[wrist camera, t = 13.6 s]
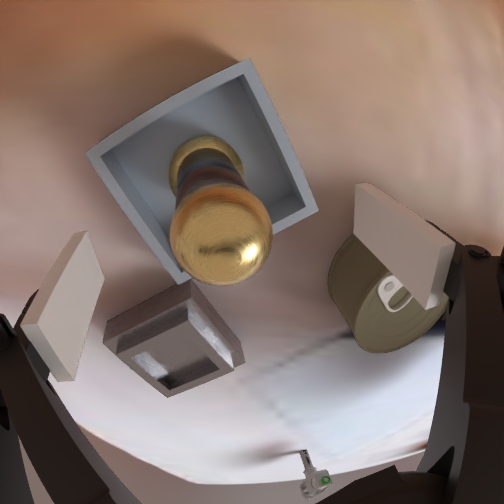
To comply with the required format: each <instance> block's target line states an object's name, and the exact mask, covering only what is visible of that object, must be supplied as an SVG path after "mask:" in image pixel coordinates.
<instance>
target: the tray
mask: <svg viewBox="0 0 504 504" xmlns="http://www.w3.org/2000/svg"><path fill="white" fill-rule="evenodd" d="M198 135H213V136H216V137H219V138H221V139H223V140H225V141H226V142H227V143H229V144H230V145H231V146H232V148H233V149H234V150H235V151H236V153H237V154H238V156H239V157H240V159H241V162H242V165H243V169H244V178H243V181H244V182H245V184H246V185H247V187H248V189H249V190H250V192H252V193H253V194H254V195H255V196H256V197H257V198H258V199H259V200H260V201H261V202H262V203H263V205H264V206H265V208H266V210H267V212H268V214H269V216H270V219H271V223H272V230H273V235H274V234H276V233H278V232H280V231H281V230H283V229H285V228H287V227H289V226H291V225H293V224H295V223H297V222H299V221H300V220H302V219H304V218H306V217H308V216H310V215H312V214H314V213H316V212H318V211H319V209H318V206H317V204H316V201H315V199H314V197H313V194H312V192H311V189H310V187H309V184H308V182H307V180H306V177H305V175H304V173H303V170H302V168H301V166H300V163H299V161H298V159H297V156H296V154H295V152H294V149H293V147H292V145H291V143H290V140H289V138H288V136H287V134H286V132H285V129H284V127H283V125H282V123H281V121H280V119H279V116H278V114H277V112H276V110H275V108H274V106H273V104H272V102H271V100H270V98H269V96H268V93H267V91H266V89H265V87H264V85H263V83H262V81H261V79H260V77H259V75H258V73H257V71H256V69H255V67H254V65H253V63H252V62H251V60H250V58H248V59H246V60H244V61H241V62H239V63H237V64H235V65H232V66H230V67H228V68H226V69H224V70H222V71H220V72H218V73H215V74H213V75H211V76H209V77H207V78H205V79H203V80H201V81H199V82H198V83H196V84H194V85H192V86H190V87H188V88H186V89H184V90H183V91H181V92H179V93H177V94H175V95H173V96H172V97H170V98H168V99H166V100H165V101H163V102H161V103H160V104H158V105H156V106H154V107H153V108H151V109H149V110H148V111H146V112H145V113H143V114H141V115H140V116H138V117H137V118H135V119H133V120H132V121H130V122H129V123H127V124H126V125H124V126H123V127H121V128H120V129H118V130H117V131H115V132H114V133H112V134H111V135H109V136H108V137H106V138H105V139H103V140H102V141H101V142H99V143H98V144H96V145H95V146H94V147H92V148H91V149H90V150H88V151H87V152H86V153H84V154H85V155H86V157H87V158H88V160H89V161H90V163H91V165H92V166H93V168H94V169H95V171H96V172H97V174H98V175H99V177H100V178H101V180H102V181H103V183H104V184H105V186H106V187H107V189H108V190H109V191H110V193H111V194H112V196H113V197H114V199H115V200H116V202H117V203H118V205H119V206H120V207H121V209H122V210H123V212H124V213H125V215H126V216H127V217H128V219H129V220H130V222H131V223H132V224H133V226H134V227H135V228H136V230H137V231H138V233H139V234H140V235H141V237H142V238H143V239H144V241H145V242H146V244H147V245H148V246H149V248H150V249H151V250H152V252H153V253H154V254H155V256H156V257H157V258H158V260H159V261H160V262H161V264H162V265H163V266H164V267H165V269H166V270H167V271H168V273H169V274H170V275H171V277H172V278H173V279H174V280H175V282H176V283H177V284H178V285H179V284H181V283H183V282H185V281H187V280H189V279H191V278H193V277H191V276H190V275H189V274H188V273H186V272H185V271H184V270H183V269H182V267H181V266H180V265H179V263H178V262H177V260H176V258H175V256H174V254H173V251H172V248H171V244H170V225H171V221H172V217H173V215H174V213H175V204H176V197H175V196H174V194H173V193H172V190H171V188H170V185H169V179H168V176H169V167H170V162H171V158H172V156H173V154H174V152H175V151H176V149H177V148H178V147H179V146H180V145H181V144H182V143H183V142H185V141H186V140H188V139H190V138H192V137H194V136H198Z"/></svg>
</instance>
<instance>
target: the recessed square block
mask: <svg viewBox="0 0 504 504" xmlns="http://www.w3.org/2000/svg"><path fill="white" fill-rule="evenodd" d="M103 344H104V345H105V346H106V347H107V348H109V349H110V350H111V351H112V352H113V353H114V354H115V355H116V356H117V357H118V358H119V359H121V360H122V361H123V362H124V363H125V364H126V365H128V366H129V367H130V368H131V369H132V370H133V371H135V372H136V373H137V374H138V375H139V376H141V377H142V378H143V379H144V380H145V381H147V382H148V383H149V384H150V385H152V386H153V387H154V388H155V389H157V390H158V391H159V392H161V393H162V394H163V395H164V396H166V397H167V398H168V397H171V396H173V395H176V394H178V393H181V392H184V391H186V390H189V389H191V388H194V387H196V386H199V385H201V384H204V383H206V382H208V381H211V380H213V379H215V378H218V377H220V376H223V375H225V374H227V373H229V372H232V371H234V367H237V366H239V365H241V364H243V363H246V362H245V358H244V354H243V350H242V346H241V342H240V341H239V340H238V338H237V337H236V336H235V335H234V333H233V332H232V331H231V330H230V328H229V327H228V326H227V324H226V323H225V322H224V321H223V319H222V318H221V317H220V316H219V314H218V313H217V312H216V310H215V309H214V308H213V307H212V305H211V304H210V303H209V301H208V300H207V299H206V298H205V296H204V295H203V294H202V292H201V291H200V290H199V288H198V287H197V286H196V284H195V283H194V282H193V280H192V279H189V280H187V281H185V282H183V283H181V284H179V285H178V284H176V285H175V286H173V287H171V288H169V289H167V290H165V291H163V292H161V293H160V294H158V295H156V296H154V297H152V298H150V299H148V300H146V301H145V302H143V303H141V304H139V305H137V306H135V307H133V308H132V309H130V310H128V311H126V312H124V313H122V314H120V315H119V316H117V317H115V318H113V319H111V320H109V321H107V324H106V329H105V333H104V338H103Z"/></svg>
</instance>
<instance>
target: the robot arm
mask: <svg viewBox="0 0 504 504" xmlns="http://www.w3.org/2000/svg"><path fill="white" fill-rule="evenodd" d="M353 234H354V235H355V236H356V237H357V238H358V239H359V240H360V241H361V242H362V243H363V244H364V245H365V246H366V247H367V248H368V249H369V250H370V251H371V252H372V253H373V254H374V255H375V256H376V257H377V258H378V259H379V260H380V261H381V262H382V263H383V264H384V265H385V266H386V267H387V268H388V270H389V271H390V272H391V273H392V274H393V275H394V276H395V277H396V278H397V279H398V280H399V281H400V282H401V283H402V285H403V286H404V287H405V288H406V289H407V290H408V291H409V292H410V293H411V294H412V296H413V297H414V298H415V299H416V300H417V301H418V302H419V303H420V305H421V306H422V307H423V308H424V309H425V310H427V309H430V308H432V307H435V306H438V305H440V302H441V299H442V295H443V292H444V293H445V294H446V295H447V296H448V297H449V299H448V303H447V306H446V309H445V312H444V315H443V318H442V320H443V321H444V320H445V317H446V325H445V338H444V349H443V358H442V367H441V374H440V381H439V388H438V394H437V400H436V406H435V411H434V416H433V421H432V426H431V430H430V435H429V439H428V443H427V447H426V450H425V453H424V456H423V458H422V460H421V462H420V464H419V466H418V468H417V470H416V472H415V471H410V472H398V471H397V469H396V467H395V465H393V466H391V467H389V468H386V469H384V470H381V471H379V472H376V473H374V474H371V475H369V476H366V477H364V478H361V479H358V480H355V481H353V482H352V483H350V484H349V485H347V486H345V487H344V488H342V489H341V490H339V491H337V492H336V493H334V494H332V495H330V496H329V497H327V498H325V499H323V500H322V501H320V502H318V503H316V504H504V247H503V250H502V253H501V256H491V254H490V253H489V252H488V251H487V250H486V249H484V248H482V247H480V246H476V245H465V246H463V245H462V244H460V243H459V242H458V241H456V240H455V239H454V238H452V237H451V236H450V235H448V234H446V232H444V231H443V230H440V228H439V227H437V226H436V225H434V224H433V223H431V222H429V221H426V220H424V219H422V218H421V217H419V216H418V215H416V214H415V213H414V212H412V211H411V210H409V209H408V208H406V207H405V206H403V205H402V204H400V203H399V202H397V201H396V200H394V199H393V198H391V197H390V196H388V195H387V194H385V193H384V192H382V191H381V190H379V189H377V188H376V187H374V186H373V185H371V184H370V183H361V184H355V207H354V231H353ZM104 279H105V278H104V276H103V273H102V271H101V268H100V265H99V263H98V260H97V257H96V254H95V252H94V249H93V246H92V243H91V240H90V237H89V234H88V231H83V232H79V233H74V234H73V236H72V237H71V239H70V240H69V242H68V243H67V245H66V246H65V248H64V249H63V251H62V252H61V254H60V256H59V257H58V259H57V260H56V262H55V264H54V265H53V267H52V268H51V270H50V272H49V273H48V275H47V277H46V278H45V280H44V282H43V284H42V285H41V287H40V289H39V290H37V291H36V292H35V293H34V294H33V295H32V296H31V297H30V298H29V300H28V302H27V304H26V305H25V306H26V307H24V309H23V311H22V314H21V315H20V317H19V318H18V320H17V322H16V324H15V326H14V328H12V326H11V325H10V323H9V321H8V320H7V318H6V316H5V315H4V314H0V504H34V501H33V498H32V494H31V491H30V487H29V484H28V480H27V476H26V472H25V468H24V464H23V459H22V454H21V450H20V444H19V438H20V440H21V442H22V444H23V447H24V449H25V451H26V453H27V455H28V457H29V459H30V461H31V463H32V465H33V467H34V469H35V470H36V473H37V474H38V476H39V478H40V480H41V482H42V483H43V485H44V487H45V489H46V490H47V492H48V494H49V495H50V497H51V499H52V500H53V502H54V503H55V504H142V503H141V502H140V501H139V500H138V499H137V498H136V497H135V496H134V495H133V494H132V493H131V492H130V491H129V489H128V488H127V487H126V486H125V485H124V484H123V483H122V482H121V481H120V479H119V478H118V477H117V476H116V475H115V474H114V472H113V471H112V470H111V469H110V468H109V466H108V465H107V464H106V463H105V462H104V460H103V459H102V458H101V456H100V455H99V454H98V453H97V452H96V450H95V449H94V448H93V446H92V445H91V444H90V442H89V441H88V439H87V438H86V437H85V435H84V434H83V432H82V431H81V430H80V428H79V427H78V425H77V424H76V422H75V421H74V419H73V418H72V416H71V415H70V413H69V412H68V410H67V409H66V407H65V406H64V404H63V403H62V401H61V399H60V398H59V396H58V394H57V393H56V391H55V389H54V388H53V386H52V385H51V383H50V382H49V381H48V376H49V372H51V373H52V375H53V376H54V377H55V379H56V380H57V381H58V382H60V381H74V380H75V376H76V372H77V368H78V364H79V360H80V357H81V353H82V349H83V346H84V342H85V339H86V335H87V332H88V328H89V325H90V322H91V318H92V315H93V312H94V309H95V306H96V303H97V300H98V297H99V294H100V291H101V288H102V285H103V282H104ZM18 435H19V438H18Z"/></svg>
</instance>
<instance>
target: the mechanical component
mask: <svg viewBox="0 0 504 504" xmlns="http://www.w3.org/2000/svg"><path fill="white" fill-rule="evenodd" d="M300 455H301V458H302V461H303V464H304V467H305V471H304V472H303V473H304V474H305V476H306V479H305V480H304V481H303V482H302V483H301V484H300V490H301V493H302V496H303V497H304V498H305V499H307V500H309V499H312V498H314V497H315V496H316V495H317V494H320V493H323V492H324V491H326V489H328V488H329V487H330V486H331V485H332V484H333V482H332V480H331V477H330V475H329V473H328V471H327V470H321V471H317V470H316V469H317V468H315V467H313V465H312V462H311V460H310V457H309V454H308V451H307V450H306V451H305V453H304V452H303V451H300Z"/></svg>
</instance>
